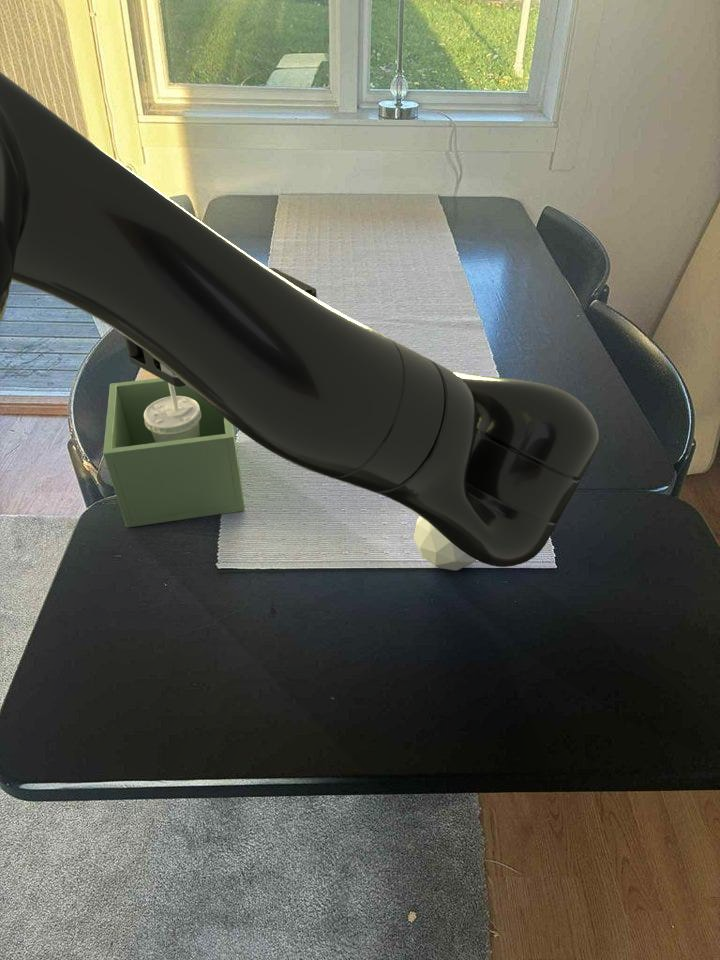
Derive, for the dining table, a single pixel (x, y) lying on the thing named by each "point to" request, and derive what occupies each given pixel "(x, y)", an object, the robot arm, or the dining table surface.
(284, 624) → the dining table surface
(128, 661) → the dining table surface
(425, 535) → the geometric ball
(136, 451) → the trash bin
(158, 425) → the smoothie
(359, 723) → the dining table surface
